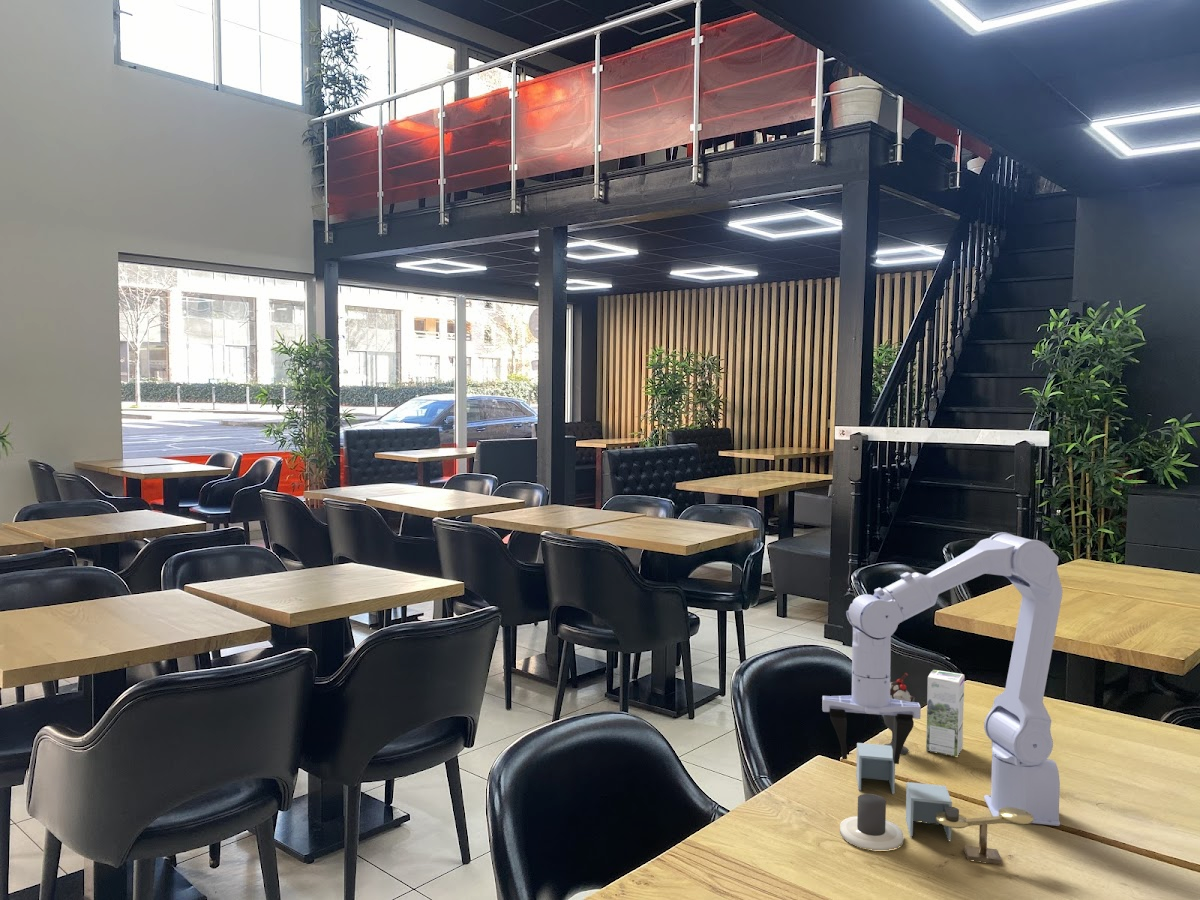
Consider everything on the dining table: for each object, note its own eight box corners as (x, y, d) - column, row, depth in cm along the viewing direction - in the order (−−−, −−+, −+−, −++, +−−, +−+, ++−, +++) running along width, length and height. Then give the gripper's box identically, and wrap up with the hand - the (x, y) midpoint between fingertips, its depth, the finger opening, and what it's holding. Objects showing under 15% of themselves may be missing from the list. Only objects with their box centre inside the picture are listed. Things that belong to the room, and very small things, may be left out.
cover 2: (944, 824, 132) (945, 785, 131) (950, 841, 126) (951, 802, 126) (905, 819, 133) (906, 781, 133) (910, 837, 127) (911, 797, 127)
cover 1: (890, 779, 147) (891, 745, 147) (894, 794, 142) (895, 758, 142) (856, 776, 149) (857, 742, 148) (858, 790, 143) (859, 755, 143)
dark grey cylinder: (884, 824, 129) (884, 795, 129) (886, 837, 125) (886, 807, 125) (856, 821, 130) (857, 792, 130) (857, 833, 126) (858, 804, 126)
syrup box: (963, 748, 162) (965, 672, 161) (957, 759, 157) (959, 681, 156) (931, 742, 165) (933, 667, 164) (925, 752, 160) (926, 675, 159)
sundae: (916, 758, 157) (918, 677, 156) (878, 754, 158) (880, 675, 158) (911, 744, 163) (912, 667, 163) (874, 741, 165) (876, 664, 164)
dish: (899, 825, 131) (899, 819, 131) (906, 855, 122) (906, 847, 122) (838, 819, 133) (838, 812, 133) (841, 847, 124) (841, 840, 124)
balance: (1027, 855, 122) (1028, 809, 122) (1035, 871, 118) (1037, 823, 118) (932, 844, 125) (933, 799, 125) (937, 859, 121) (938, 812, 121)
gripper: (823, 677, 131) (822, 765, 131) (924, 684, 127) (922, 773, 128) (822, 664, 137) (821, 747, 138) (917, 670, 134) (916, 755, 135)
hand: (869, 759), depth 133 cm, fingers open, 7 cm apart
